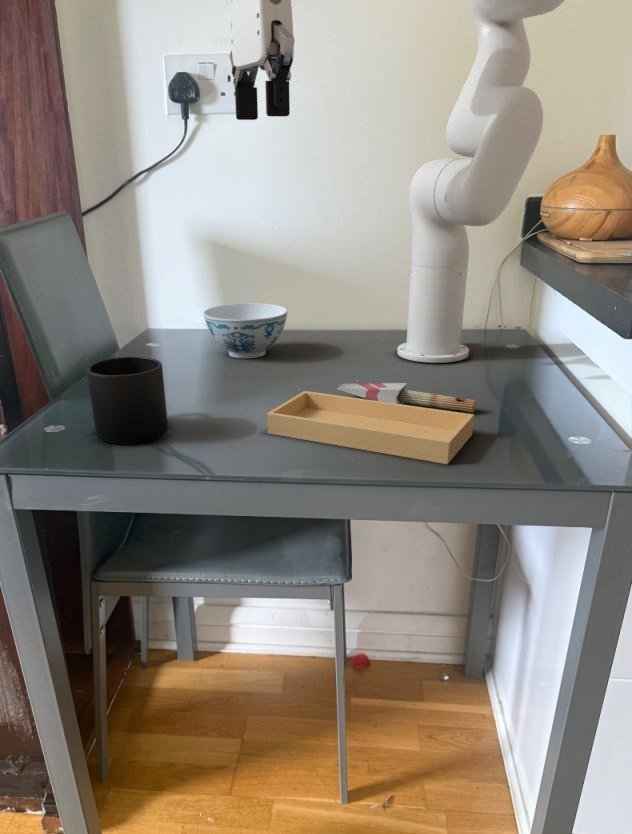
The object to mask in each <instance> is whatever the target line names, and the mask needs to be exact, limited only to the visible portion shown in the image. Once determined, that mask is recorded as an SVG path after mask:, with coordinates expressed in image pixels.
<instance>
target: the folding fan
mask: <svg viewBox="0 0 632 834" xmlns="http://www.w3.org/2000/svg"><path fill="white" fill-rule="evenodd" d="M407 385H408V382H377V383H375V382H373V383H372V382H371V383H368V382H367V383H342V384H340V385H339V386H338V387H336V390H338V391H341V392H344V393H347V394H351V395H354V396H358V397H360V398H362V399H366V400H373V401H381V402H388V403H395V404H402V405H404V403H405V404H411V405H417V406H424V407H425V406H426V407H432V408H436V409H443V410H449V411H451V410H452V411H456V410H457V411H458V410H459V411H461V412H462V413H468V414H473V413H474V411H475V410H476V409H475V408H476V404H477V403H476V400H475V399H470V398H463V399H462V398H459V397H456V396H448V395H443V394H435V393H428V392H422V391H417V390H409V389H405V388H406V386H407Z"/></svg>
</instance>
